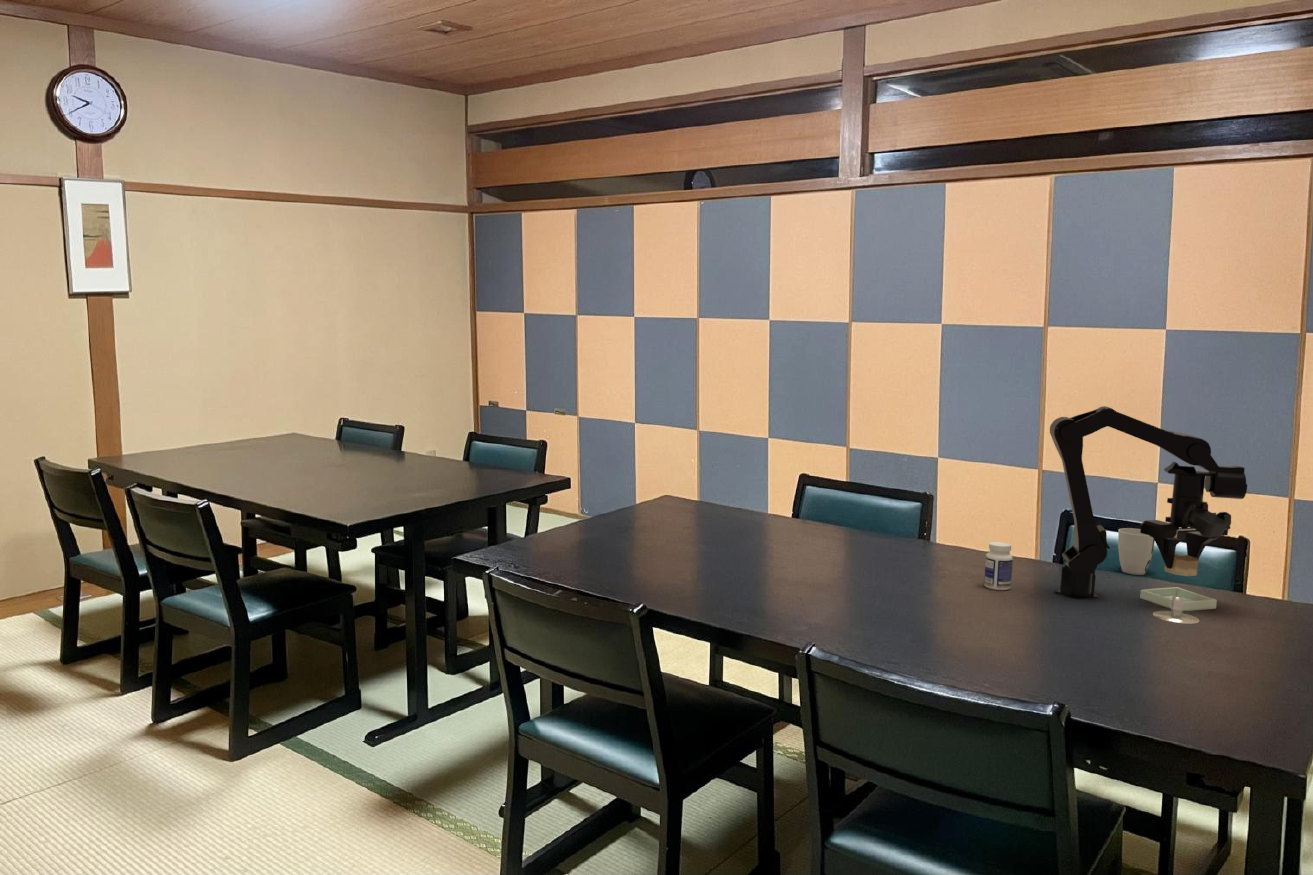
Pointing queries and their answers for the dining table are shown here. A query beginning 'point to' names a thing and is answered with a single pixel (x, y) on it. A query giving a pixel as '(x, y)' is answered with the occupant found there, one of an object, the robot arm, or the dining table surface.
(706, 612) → the dining table surface
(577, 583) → the dining table surface
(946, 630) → the dining table surface
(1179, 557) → the ring
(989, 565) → the pill bottle
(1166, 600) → the dish
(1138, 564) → the cup
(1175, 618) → the clear stemmed base
